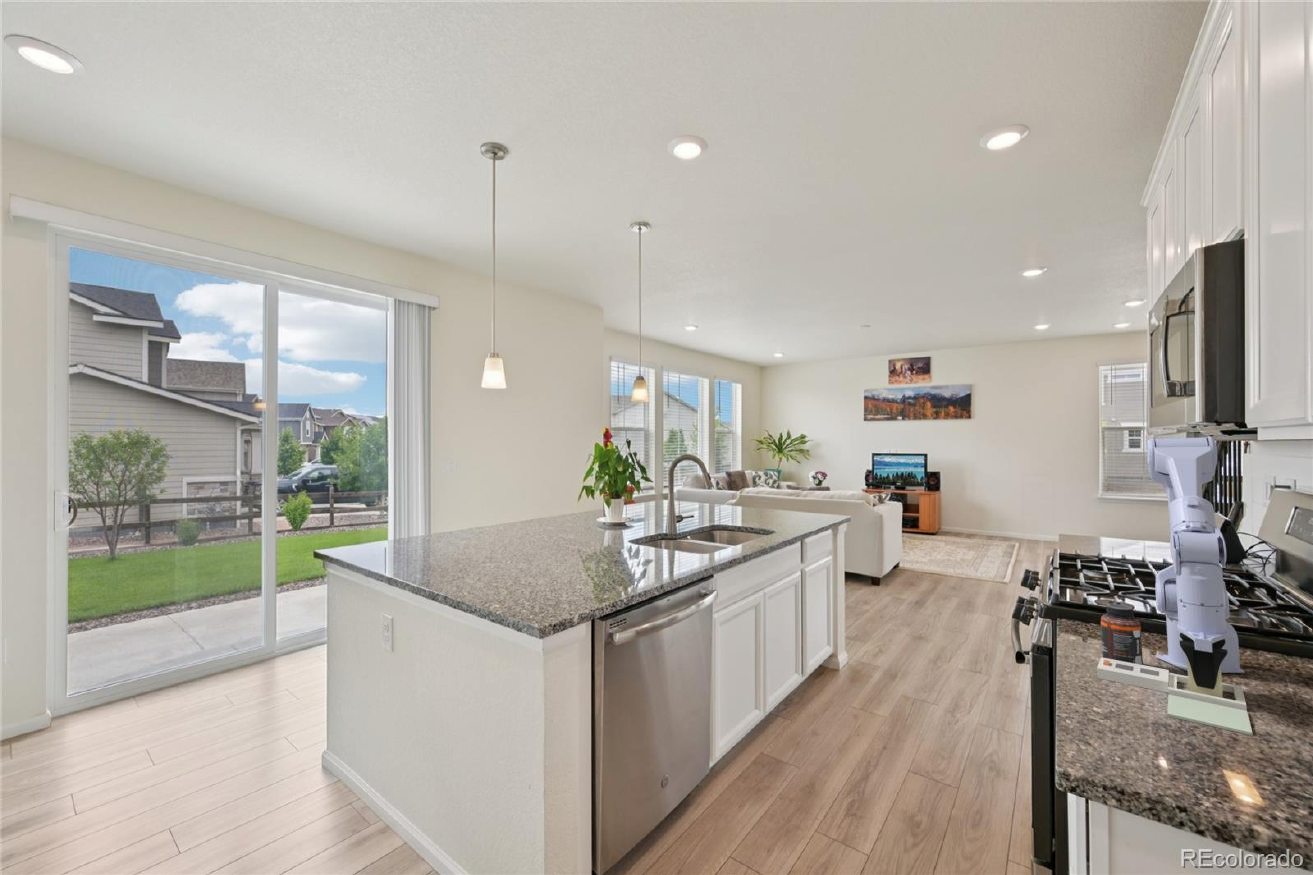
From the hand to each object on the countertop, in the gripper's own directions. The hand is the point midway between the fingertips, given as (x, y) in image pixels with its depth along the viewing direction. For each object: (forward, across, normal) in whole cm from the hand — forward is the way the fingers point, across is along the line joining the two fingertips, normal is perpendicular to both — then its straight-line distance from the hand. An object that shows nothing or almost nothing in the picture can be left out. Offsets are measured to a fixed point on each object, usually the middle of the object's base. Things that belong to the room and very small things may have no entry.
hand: (1204, 682), depth 92 cm
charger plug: (+2, 0, 0) cm, 2 cm away
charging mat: (+2, -10, 0) cm, 10 cm away
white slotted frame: (+2, 0, +5) cm, 5 cm away
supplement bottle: (+2, +7, +11) cm, 13 cm away
